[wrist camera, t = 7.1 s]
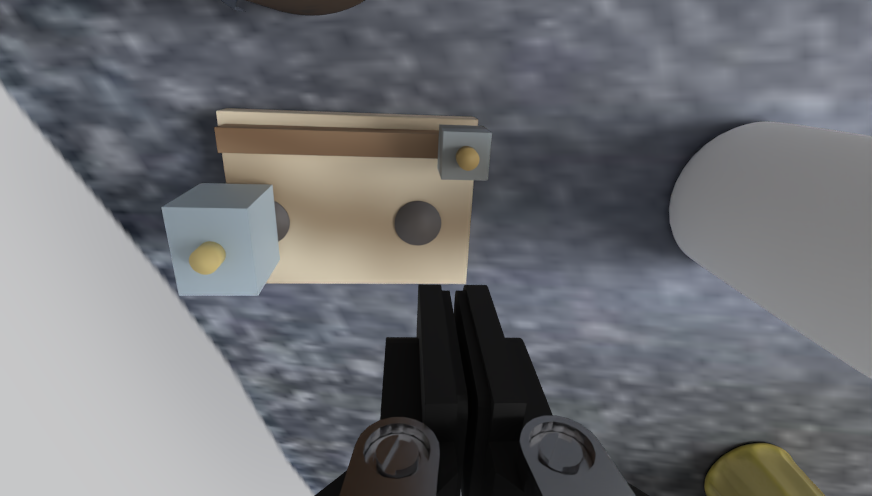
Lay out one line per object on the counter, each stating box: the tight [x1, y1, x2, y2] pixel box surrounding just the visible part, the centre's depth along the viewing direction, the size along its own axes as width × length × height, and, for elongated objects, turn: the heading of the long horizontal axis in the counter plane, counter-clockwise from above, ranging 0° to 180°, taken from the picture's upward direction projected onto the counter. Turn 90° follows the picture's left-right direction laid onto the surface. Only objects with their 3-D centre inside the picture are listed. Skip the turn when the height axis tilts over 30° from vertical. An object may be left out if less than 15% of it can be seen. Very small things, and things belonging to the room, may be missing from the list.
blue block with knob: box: [161, 183, 280, 296], centre depth 18 cm, size 4×3×4 cm
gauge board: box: [214, 108, 492, 284], centre depth 19 cm, size 8×11×5 cm
